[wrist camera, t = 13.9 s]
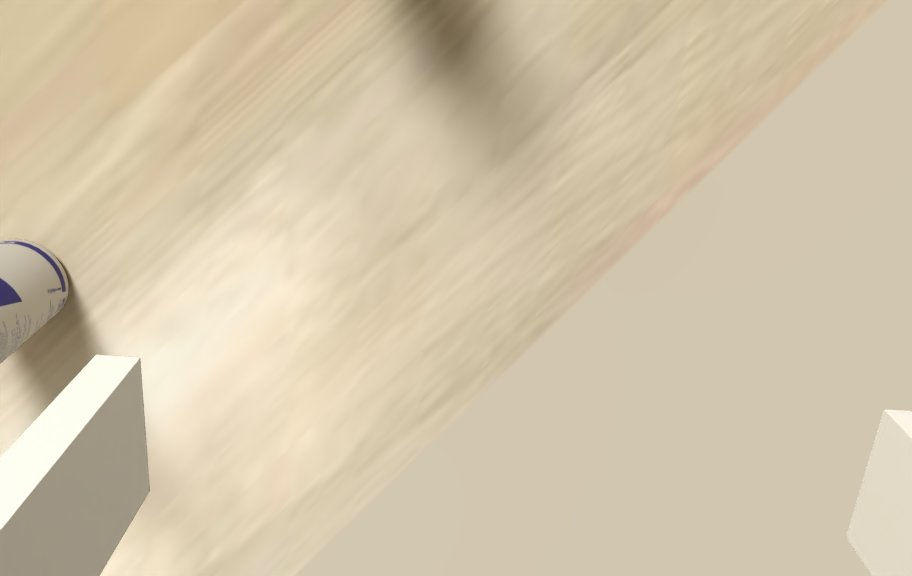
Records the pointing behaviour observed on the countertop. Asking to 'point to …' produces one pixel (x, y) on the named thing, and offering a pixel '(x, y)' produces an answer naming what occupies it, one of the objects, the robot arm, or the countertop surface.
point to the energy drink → (27, 291)
